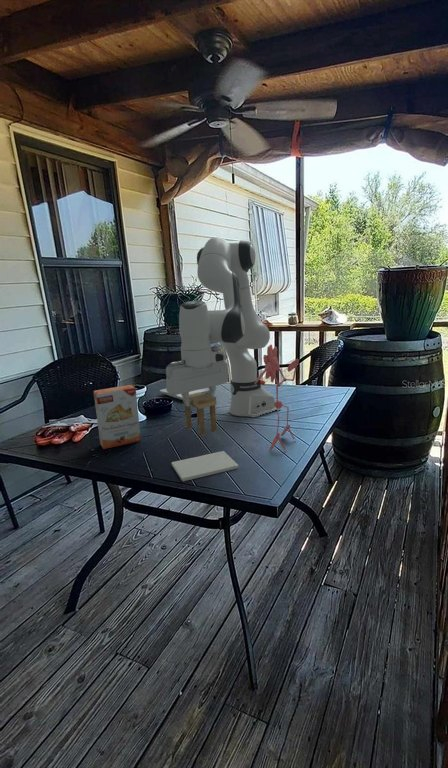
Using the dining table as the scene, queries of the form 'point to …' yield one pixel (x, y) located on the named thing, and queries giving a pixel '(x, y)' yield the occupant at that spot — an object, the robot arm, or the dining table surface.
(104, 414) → the cracker box
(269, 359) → the pink stick figure
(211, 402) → the oak stool
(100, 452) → the dining table surface
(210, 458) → the white board
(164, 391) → the salad plate
